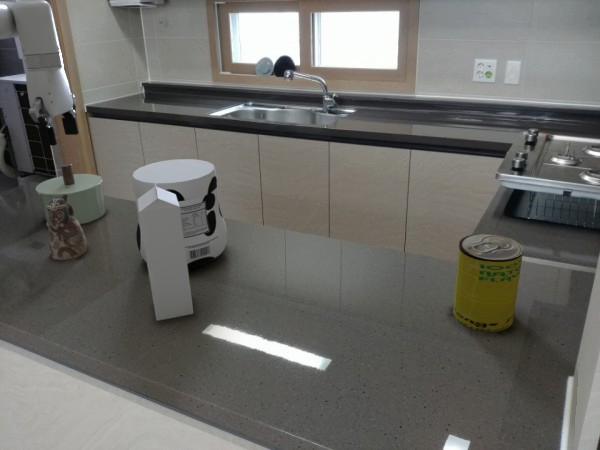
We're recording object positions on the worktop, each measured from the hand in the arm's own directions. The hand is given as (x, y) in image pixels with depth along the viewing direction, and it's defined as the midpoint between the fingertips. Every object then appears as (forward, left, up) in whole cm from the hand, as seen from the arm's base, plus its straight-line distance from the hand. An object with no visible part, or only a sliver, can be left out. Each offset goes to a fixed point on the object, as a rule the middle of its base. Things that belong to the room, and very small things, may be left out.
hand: (61, 139), depth 123 cm
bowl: (0, 0, -19) cm, 19 cm away
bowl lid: (0, 0, -11) cm, 11 cm away
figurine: (+9, -20, -19) cm, 29 cm away
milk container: (+34, -21, -19) cm, 44 cm away
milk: (+38, -40, -19) cm, 58 cm away
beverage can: (+88, -39, -19) cm, 98 cm away
